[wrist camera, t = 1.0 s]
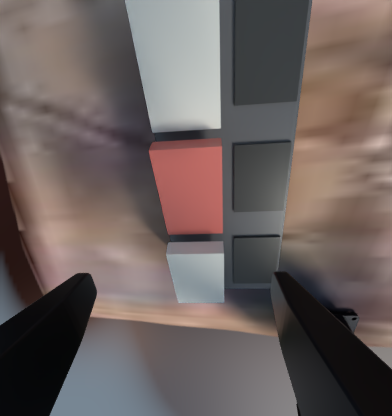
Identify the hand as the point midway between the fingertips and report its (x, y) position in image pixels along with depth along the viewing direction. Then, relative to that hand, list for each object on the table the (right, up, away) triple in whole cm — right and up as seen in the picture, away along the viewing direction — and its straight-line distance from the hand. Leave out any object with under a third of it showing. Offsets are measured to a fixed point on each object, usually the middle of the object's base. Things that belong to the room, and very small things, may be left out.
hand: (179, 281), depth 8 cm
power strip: (+3, +6, +10) cm, 12 cm away
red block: (0, +4, +6) cm, 7 cm away
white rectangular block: (0, +9, +3) cm, 10 cm away
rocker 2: (+1, -2, +9) cm, 9 cm away
